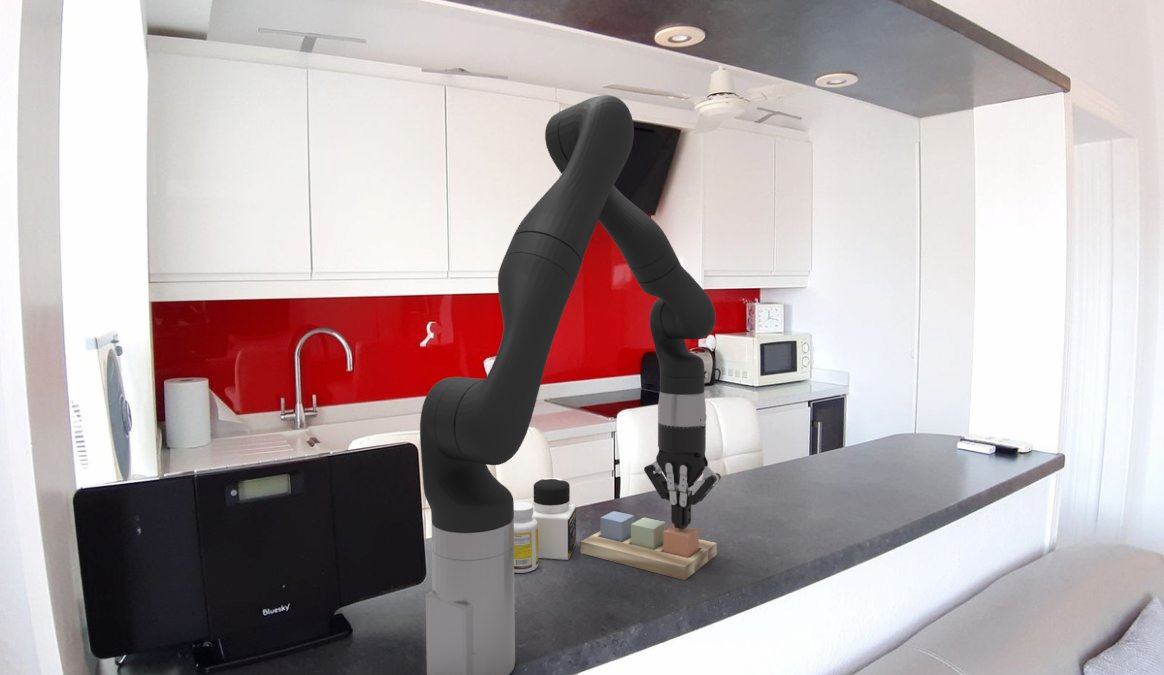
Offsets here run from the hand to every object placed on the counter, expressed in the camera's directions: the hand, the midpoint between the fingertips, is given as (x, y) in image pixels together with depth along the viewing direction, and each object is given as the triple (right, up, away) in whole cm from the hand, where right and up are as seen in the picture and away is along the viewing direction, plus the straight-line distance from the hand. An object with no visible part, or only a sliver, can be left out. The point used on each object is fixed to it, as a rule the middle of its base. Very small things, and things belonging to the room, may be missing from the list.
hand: (681, 527), depth 106 cm
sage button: (-5, -4, +4) cm, 7 cm away
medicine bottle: (-21, -6, +5) cm, 22 cm away
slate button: (-10, -4, +7) cm, 13 cm away
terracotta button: (0, -4, 0) cm, 4 cm away
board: (-5, -6, +4) cm, 8 cm away
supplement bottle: (-26, -6, -2) cm, 26 cm away
